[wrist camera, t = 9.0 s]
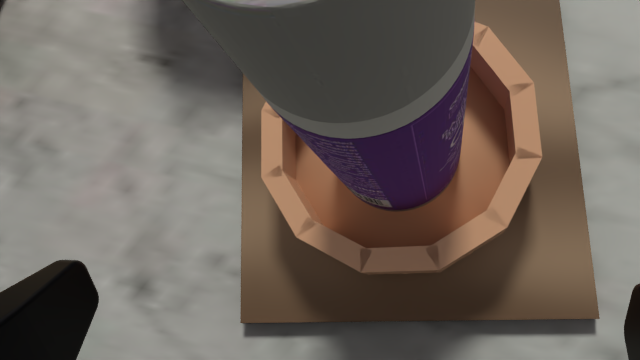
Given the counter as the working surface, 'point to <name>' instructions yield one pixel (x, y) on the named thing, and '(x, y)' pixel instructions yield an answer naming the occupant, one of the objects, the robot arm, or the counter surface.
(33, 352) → the robot arm
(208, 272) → the counter surface
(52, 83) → the counter surface
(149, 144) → the counter surface
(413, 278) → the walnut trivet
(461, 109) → the container
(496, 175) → the terracotta dish
